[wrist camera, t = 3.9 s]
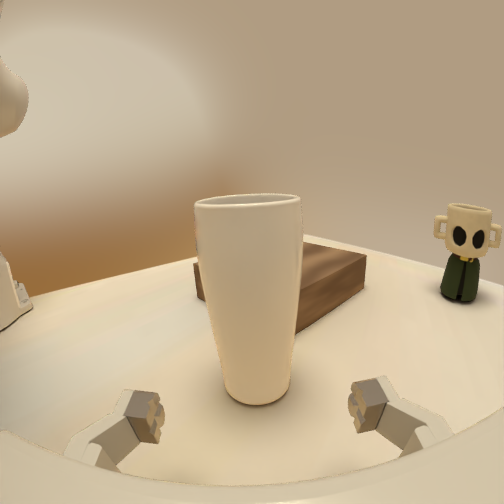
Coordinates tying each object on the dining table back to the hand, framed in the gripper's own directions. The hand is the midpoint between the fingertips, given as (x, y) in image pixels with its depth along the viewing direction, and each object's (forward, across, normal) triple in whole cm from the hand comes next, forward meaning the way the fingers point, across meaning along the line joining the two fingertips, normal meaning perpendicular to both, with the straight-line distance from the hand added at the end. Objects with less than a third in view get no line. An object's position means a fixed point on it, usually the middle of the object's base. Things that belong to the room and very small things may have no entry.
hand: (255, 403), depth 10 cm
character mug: (+20, -30, +8) cm, 37 cm away
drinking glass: (+9, 0, +8) cm, 12 cm away
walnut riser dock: (+27, -5, +8) cm, 29 cm away
